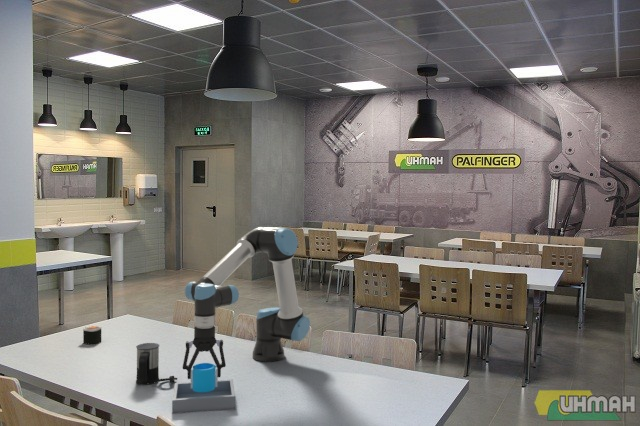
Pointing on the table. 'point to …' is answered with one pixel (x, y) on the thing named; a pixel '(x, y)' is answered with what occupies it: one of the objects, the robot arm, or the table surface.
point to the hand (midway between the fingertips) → (204, 386)
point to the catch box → (203, 398)
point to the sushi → (92, 335)
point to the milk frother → (149, 364)
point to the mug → (204, 377)
